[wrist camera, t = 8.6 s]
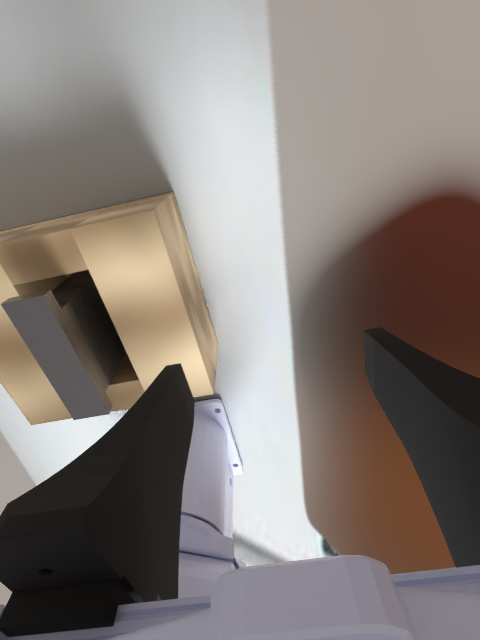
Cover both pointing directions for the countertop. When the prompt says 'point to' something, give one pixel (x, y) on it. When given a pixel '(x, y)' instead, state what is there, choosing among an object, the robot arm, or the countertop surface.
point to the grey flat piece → (71, 341)
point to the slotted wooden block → (112, 299)
